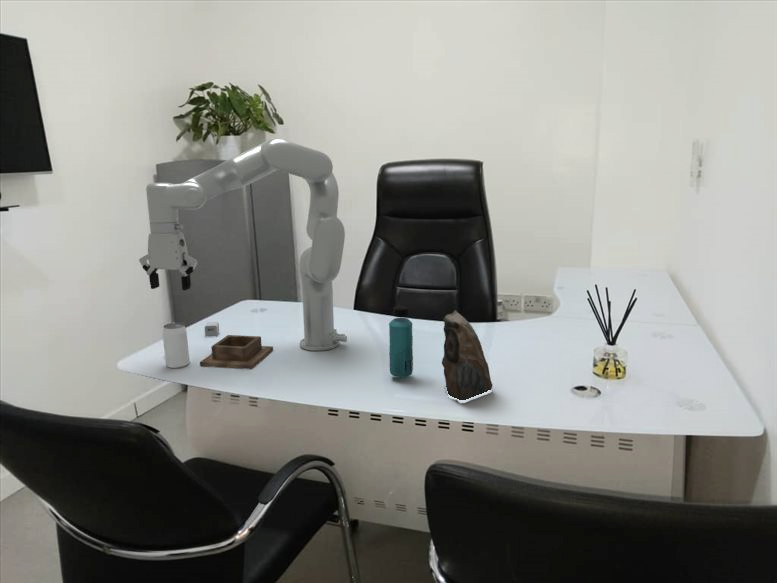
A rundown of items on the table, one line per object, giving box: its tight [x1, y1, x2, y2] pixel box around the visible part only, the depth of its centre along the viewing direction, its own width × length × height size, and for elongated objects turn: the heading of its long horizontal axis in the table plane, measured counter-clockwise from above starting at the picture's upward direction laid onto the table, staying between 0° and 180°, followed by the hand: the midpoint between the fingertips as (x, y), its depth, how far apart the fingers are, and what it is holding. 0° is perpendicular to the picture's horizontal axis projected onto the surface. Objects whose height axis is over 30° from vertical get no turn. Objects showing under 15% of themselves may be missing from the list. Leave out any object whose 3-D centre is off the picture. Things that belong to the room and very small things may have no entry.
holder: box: [199, 334, 274, 370], centre depth 163 cm, size 16×16×5 cm
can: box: [162, 322, 190, 369], centre depth 157 cm, size 6×6×12 cm
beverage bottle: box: [388, 305, 414, 378], centre depth 145 cm, size 6×7×20 cm
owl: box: [441, 310, 493, 400], centre depth 136 cm, size 13×13×20 cm
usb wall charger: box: [204, 321, 220, 337], centre depth 187 cm, size 4×7×4 cm, turn 9°
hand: (170, 288), depth 154 cm, fingers open, 9 cm apart
